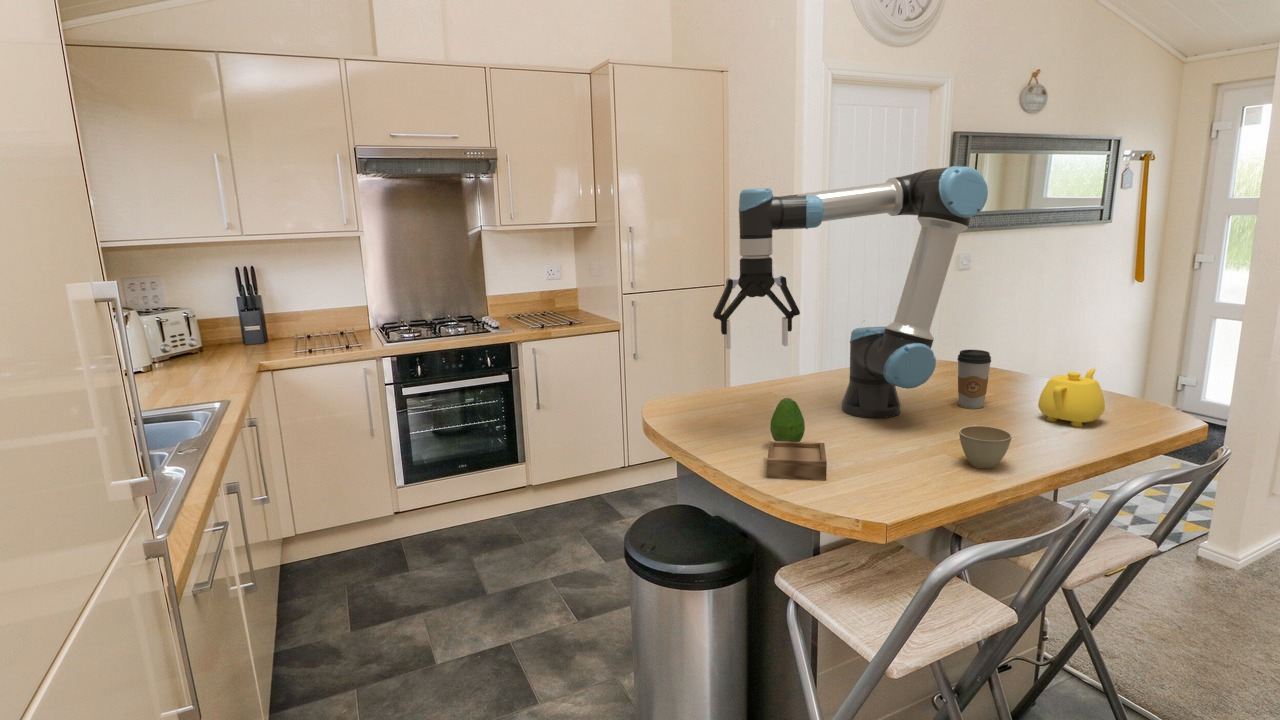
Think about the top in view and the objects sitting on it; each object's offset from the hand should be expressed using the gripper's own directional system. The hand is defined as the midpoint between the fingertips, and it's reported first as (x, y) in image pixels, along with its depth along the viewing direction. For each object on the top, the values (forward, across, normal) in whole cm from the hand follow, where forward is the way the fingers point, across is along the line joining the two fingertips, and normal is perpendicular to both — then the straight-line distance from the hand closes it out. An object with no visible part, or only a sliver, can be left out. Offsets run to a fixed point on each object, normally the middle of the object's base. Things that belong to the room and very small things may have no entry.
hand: (756, 346), depth 166 cm
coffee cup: (+24, -63, -19) cm, 70 cm away
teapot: (+24, -81, -3) cm, 84 cm away
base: (+23, -4, +21) cm, 31 cm away
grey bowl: (+24, -44, +24) cm, 55 cm away
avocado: (+23, -6, +7) cm, 25 cm away
